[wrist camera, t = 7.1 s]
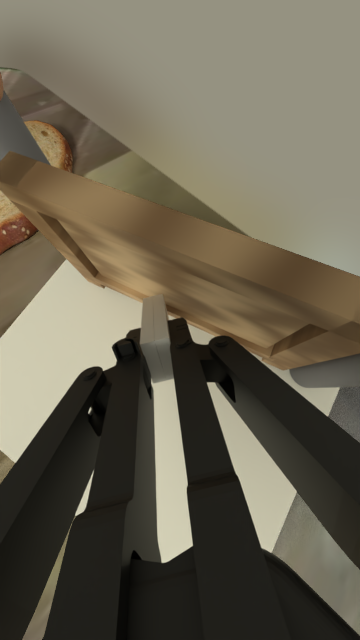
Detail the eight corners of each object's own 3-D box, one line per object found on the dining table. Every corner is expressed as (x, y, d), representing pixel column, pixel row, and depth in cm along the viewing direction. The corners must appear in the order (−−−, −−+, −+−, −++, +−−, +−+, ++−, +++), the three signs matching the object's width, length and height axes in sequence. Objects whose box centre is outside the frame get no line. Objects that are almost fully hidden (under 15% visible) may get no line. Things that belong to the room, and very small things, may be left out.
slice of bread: (58, 126, 34) (43, 96, 31) (104, 209, 29) (92, 184, 26) (-57, 175, 33) (-88, 149, 29) (-30, 272, 28) (-63, 255, 24)
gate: (289, 350, 21) (417, 297, 9) (282, 370, 20) (407, 342, 8) (98, 266, 25) (9, 150, 13) (88, 281, 24) (-14, 176, 12)
